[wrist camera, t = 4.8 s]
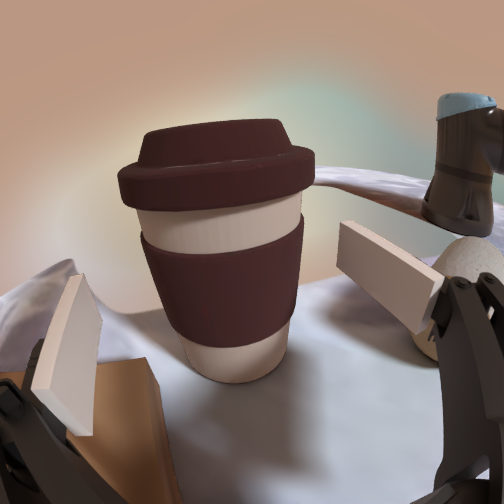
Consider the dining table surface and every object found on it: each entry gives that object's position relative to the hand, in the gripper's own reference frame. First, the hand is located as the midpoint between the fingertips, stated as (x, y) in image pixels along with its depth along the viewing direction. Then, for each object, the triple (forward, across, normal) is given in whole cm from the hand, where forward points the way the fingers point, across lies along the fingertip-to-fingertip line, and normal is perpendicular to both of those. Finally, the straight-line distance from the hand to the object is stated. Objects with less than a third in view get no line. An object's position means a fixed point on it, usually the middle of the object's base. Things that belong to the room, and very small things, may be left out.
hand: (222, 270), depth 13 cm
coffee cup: (+3, +1, -8) cm, 9 cm away
